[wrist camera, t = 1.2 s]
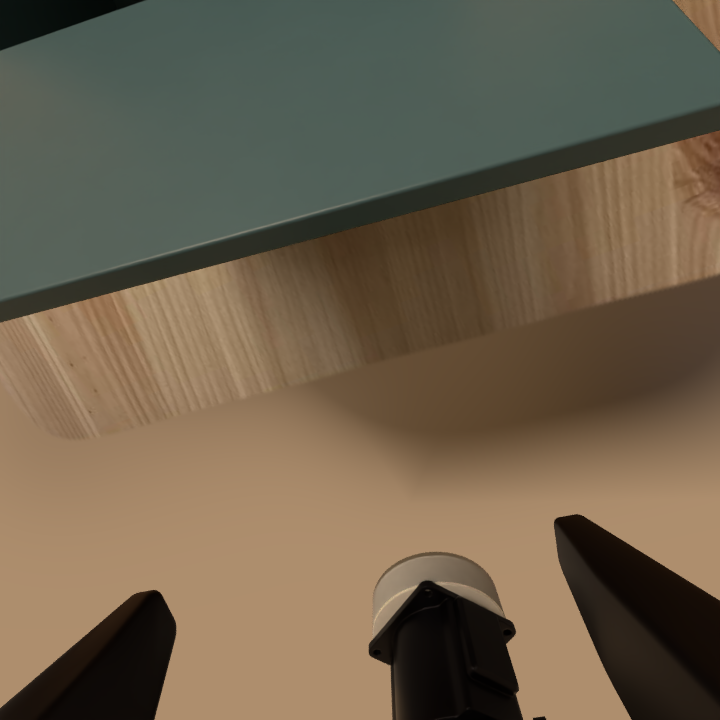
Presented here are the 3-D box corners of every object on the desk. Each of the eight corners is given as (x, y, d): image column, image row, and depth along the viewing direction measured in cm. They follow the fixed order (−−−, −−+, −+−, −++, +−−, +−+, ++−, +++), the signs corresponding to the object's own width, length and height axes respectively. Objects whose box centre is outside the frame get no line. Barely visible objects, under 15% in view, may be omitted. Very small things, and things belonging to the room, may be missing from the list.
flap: (545, -139, 7) (540, -107, 7) (-64, 72, 8) (-43, 92, 9) (760, 92, 4) (736, 127, 5) (-197, 353, 6) (-157, 366, 6)
